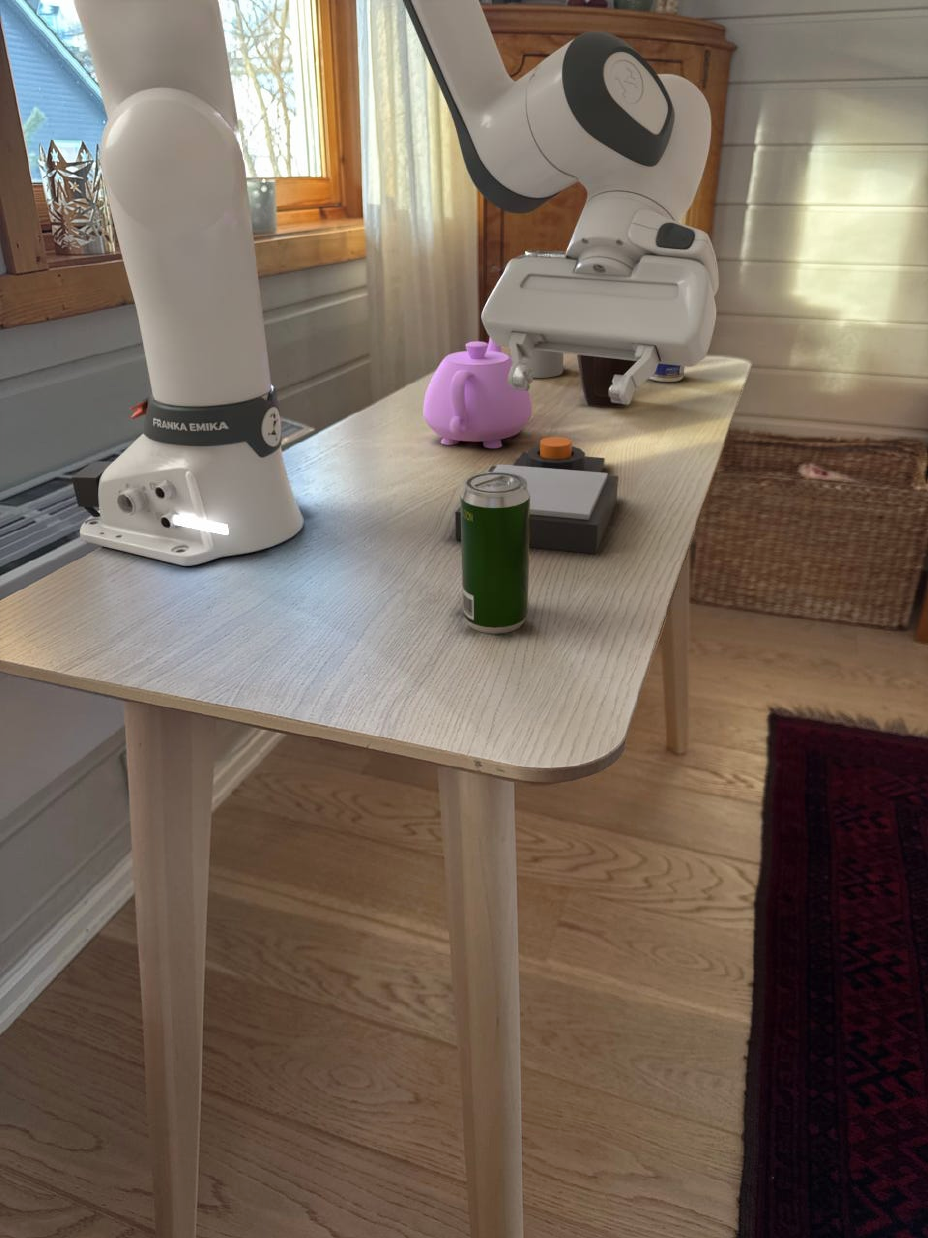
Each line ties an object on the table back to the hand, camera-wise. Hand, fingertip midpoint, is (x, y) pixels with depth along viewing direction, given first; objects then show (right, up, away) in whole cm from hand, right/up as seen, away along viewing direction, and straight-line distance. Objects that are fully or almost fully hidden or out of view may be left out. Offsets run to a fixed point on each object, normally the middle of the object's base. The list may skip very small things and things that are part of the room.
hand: (566, 393), depth 76 cm
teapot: (-7, +5, +44) cm, 45 cm away
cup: (+4, +22, +74) cm, 77 cm away
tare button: (+2, 0, +27) cm, 27 cm away
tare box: (+2, -3, +29) cm, 29 cm away
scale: (-1, -9, +17) cm, 20 cm away
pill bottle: (+24, +19, +69) cm, 75 cm away
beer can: (-6, -19, -1) cm, 20 cm away
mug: (+12, +12, +55) cm, 58 cm away
